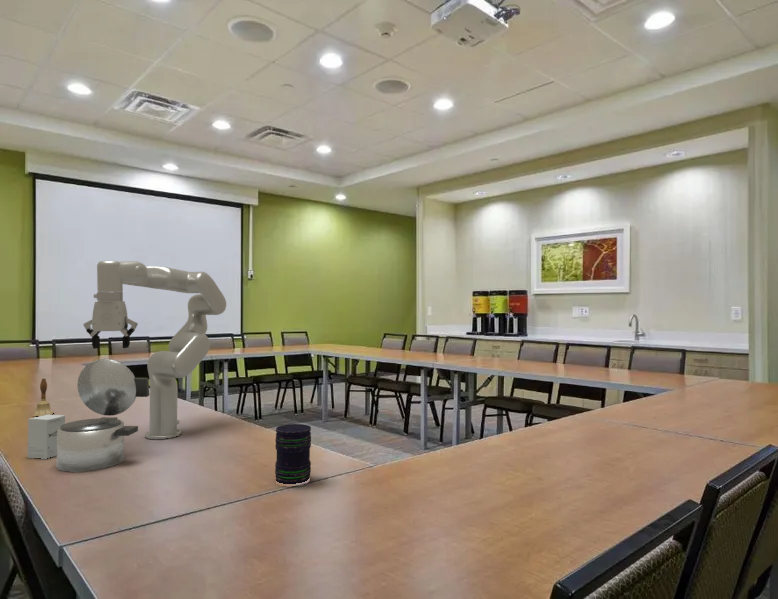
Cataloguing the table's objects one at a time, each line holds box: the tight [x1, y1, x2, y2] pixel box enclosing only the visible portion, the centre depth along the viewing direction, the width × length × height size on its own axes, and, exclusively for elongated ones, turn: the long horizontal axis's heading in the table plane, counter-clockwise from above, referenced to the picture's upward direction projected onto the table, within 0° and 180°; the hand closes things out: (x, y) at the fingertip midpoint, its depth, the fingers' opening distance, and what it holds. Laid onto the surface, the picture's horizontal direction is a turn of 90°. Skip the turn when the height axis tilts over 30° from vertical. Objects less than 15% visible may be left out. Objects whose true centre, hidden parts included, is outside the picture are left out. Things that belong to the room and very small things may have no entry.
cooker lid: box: [76, 358, 150, 417], centre depth 171 cm, size 19×22×4 cm
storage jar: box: [274, 423, 312, 484], centre depth 145 cm, size 10×10×15 cm
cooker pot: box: [55, 416, 139, 473], centre depth 161 cm, size 19×22×12 cm
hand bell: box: [32, 378, 55, 417], centre depth 229 cm, size 8×8×16 cm
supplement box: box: [27, 414, 66, 460], centre depth 168 cm, size 7×7×13 cm
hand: (111, 348), depth 175 cm, fingers open, 9 cm apart
